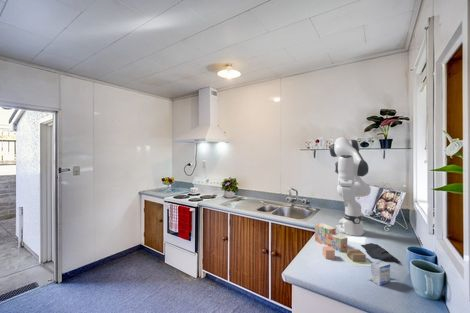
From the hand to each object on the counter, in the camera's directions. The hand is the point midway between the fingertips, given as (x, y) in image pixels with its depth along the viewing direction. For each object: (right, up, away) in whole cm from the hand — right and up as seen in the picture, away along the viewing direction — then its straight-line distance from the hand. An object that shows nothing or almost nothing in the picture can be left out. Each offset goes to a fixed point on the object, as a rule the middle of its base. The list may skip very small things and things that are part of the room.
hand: (345, 204), depth 131 cm
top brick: (-12, -31, -3) cm, 33 cm away
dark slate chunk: (+21, -32, +3) cm, 38 cm away
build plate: (+3, -31, -5) cm, 32 cm away
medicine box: (+4, -32, -25) cm, 41 cm away
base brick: (+3, -30, -5) cm, 31 cm away
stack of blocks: (-3, -31, +14) cm, 34 cm away
